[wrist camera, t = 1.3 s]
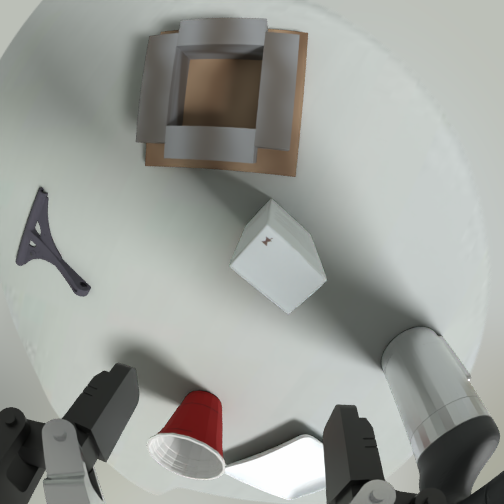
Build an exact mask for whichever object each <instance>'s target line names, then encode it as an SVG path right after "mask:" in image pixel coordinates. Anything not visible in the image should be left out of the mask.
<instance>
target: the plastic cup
mask: <svg viewBox="0 0 504 504" xmlns="http://www.w3.org/2000/svg"><path fill="white" fill-rule="evenodd" d="M146 446H147V448H148V451H149V454H150V455H151V456H152V457H153V458H154V460H155V461H156V462H157V463H158V464H160V465H161V466H163V467H164V468H166V469H167V470H169V471H171V472H173V473H176V474H178V475H180V476H183V477H187V478H191V479H196V480H211V479H215V478H218V477H221V475H222V474H223V473H224V472H225V471H226V470H225V460H224V459H223V450H222V405H221V402H220V400H219V399H218V398H217V397H216V396H215V395H213V394H211V393H208V392H206V391H192V392H191V393H189V394H188V395H187V396H186V397H185V399H184V400H183V402H182V403H181V405H180V406H179V407H178V408H177V409H176V411H175V412H174V414H173V415H172V417H171V418H170V419H169V421H168V422H167V424H166V425H165V427H164V428H162V430H161V431H160V432H158V434H156V435H154V436H152V437H150V438H149V440H148V443H147V445H146Z"/></svg>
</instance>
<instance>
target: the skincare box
mask: <svg viewBox="0 0 504 504" xmlns="http://www.w3.org/2000/svg"><path fill="white" fill-rule="evenodd" d="M229 267H230V268H231V269H233V270H234V271H235V272H236V273H237V274H239V275H240V276H241V277H242V278H243V279H245V280H246V281H247V282H248V283H249V284H251V285H252V286H253V287H254V288H255V289H257V290H258V291H259V292H260V293H262V294H263V295H264V296H265V297H267V298H268V299H269V300H270V301H272V302H273V303H274V304H275V305H277V306H278V307H279V308H280V309H282V310H283V311H284V312H285V313H286V314H288V315H289V314H290V313H291V312H292V311H293V310H295V309H296V308H297V307H298V306H299V305H300V304H302V303H303V302H304V301H305V300H306V299H307V298H308V297H310V296H311V295H312V294H313V293H314V292H315V291H316V290H317V289H319V288H320V287H321V286H322V285H323V284H324V283H325V282H326V281H327V278H326V275H325V272H324V269H323V267H322V264H321V261H320V258H319V255H318V253H317V250H316V247H315V245H314V242H313V239H312V237H311V234H310V233H309V232H308V231H307V230H305V229H304V228H303V227H302V226H301V225H300V224H299V223H298V222H297V221H296V220H295V219H294V218H293V217H292V216H290V215H289V214H288V213H287V212H286V211H285V210H284V209H283V208H282V207H281V206H280V205H278V204H277V203H276V202H275V201H274V200H273V199H272V198H271V199H270V200H269V201H268V202H267V203H266V204H265V205H264V206H263V207H262V208H261V209H260V210H259V212H258V213H257V214H256V215H255V216H254V217H253V218H252V219H251V220H250V222H249V223H248V224H247V225H246V227H245V229H244V231H243V234H242V236H241V238H240V241H239V243H238V245H237V248H236V250H235V252H234V255H233V257H232V259H231V262H230V264H229Z"/></svg>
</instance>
